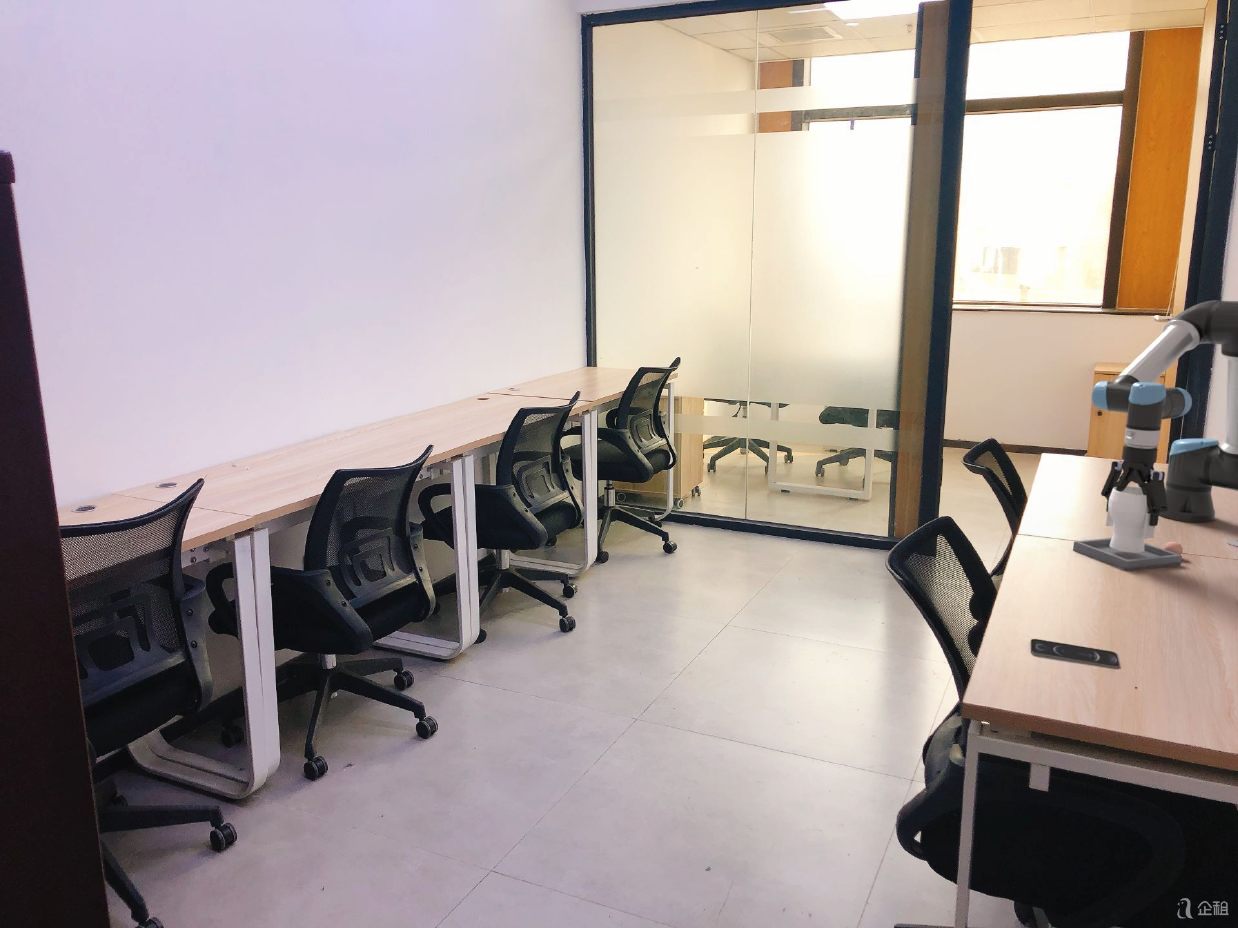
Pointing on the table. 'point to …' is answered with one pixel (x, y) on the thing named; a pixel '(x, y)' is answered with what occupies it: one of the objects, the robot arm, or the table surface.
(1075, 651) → the smartphone
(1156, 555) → the tray
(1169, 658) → the table surface
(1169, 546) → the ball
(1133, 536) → the cup
